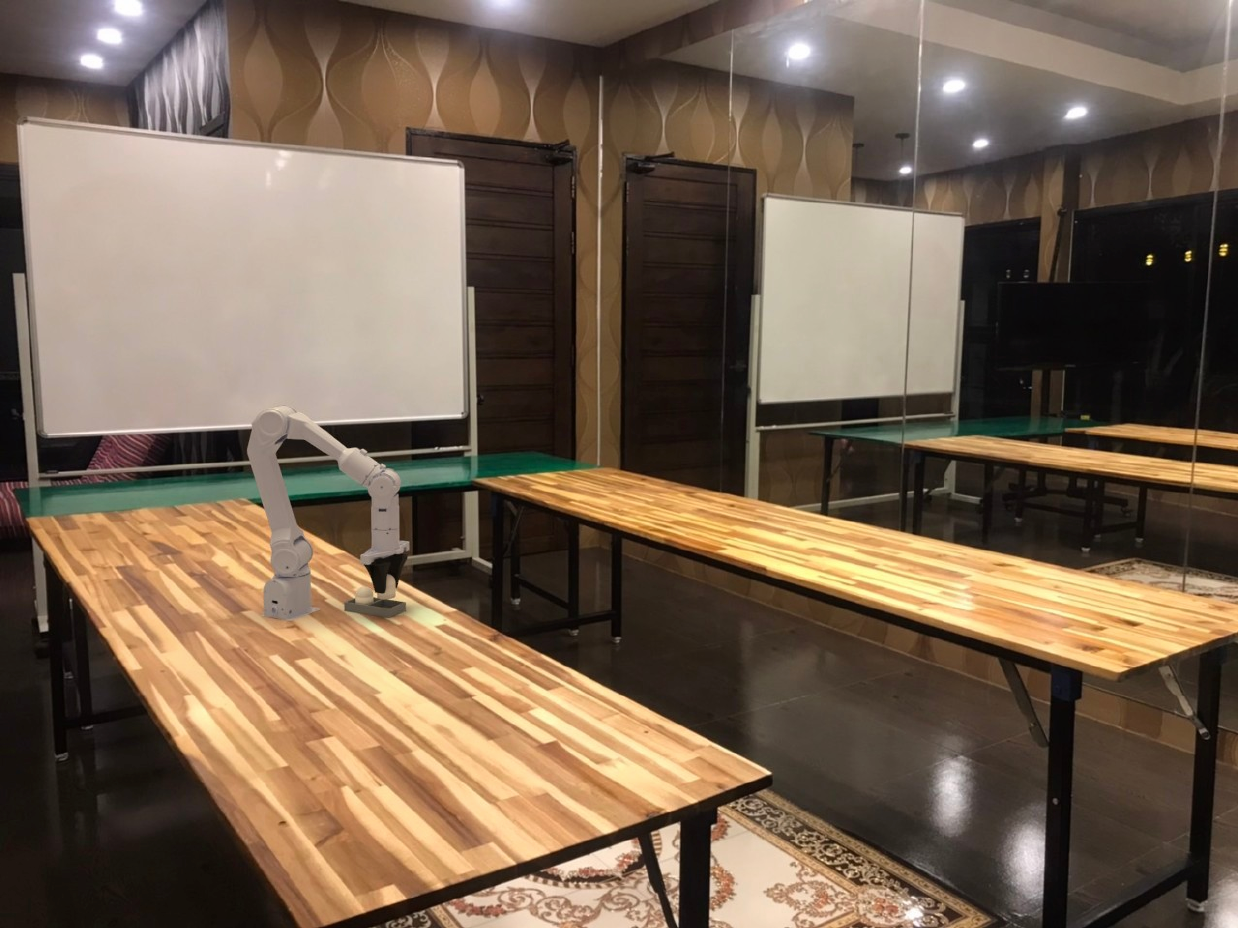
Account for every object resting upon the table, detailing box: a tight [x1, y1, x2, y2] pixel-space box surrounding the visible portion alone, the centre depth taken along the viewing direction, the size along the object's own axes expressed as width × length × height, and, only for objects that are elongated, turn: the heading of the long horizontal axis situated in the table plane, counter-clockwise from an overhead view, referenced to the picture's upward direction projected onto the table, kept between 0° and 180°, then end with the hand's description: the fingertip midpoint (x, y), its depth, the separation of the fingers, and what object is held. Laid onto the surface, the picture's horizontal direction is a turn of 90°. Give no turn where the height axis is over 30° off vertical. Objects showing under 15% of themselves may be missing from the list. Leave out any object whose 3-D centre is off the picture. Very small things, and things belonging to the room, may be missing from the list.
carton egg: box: [354, 585, 374, 605], centre depth 201 cm, size 4×4×5 cm
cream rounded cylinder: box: [376, 574, 397, 600], centre depth 198 cm, size 4×4×5 cm
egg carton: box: [343, 596, 407, 619], centre depth 200 cm, size 6×12×2 cm, turn 68°
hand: (386, 590), depth 198 cm, fingers closed on cream rounded cylinder, 4 cm apart
